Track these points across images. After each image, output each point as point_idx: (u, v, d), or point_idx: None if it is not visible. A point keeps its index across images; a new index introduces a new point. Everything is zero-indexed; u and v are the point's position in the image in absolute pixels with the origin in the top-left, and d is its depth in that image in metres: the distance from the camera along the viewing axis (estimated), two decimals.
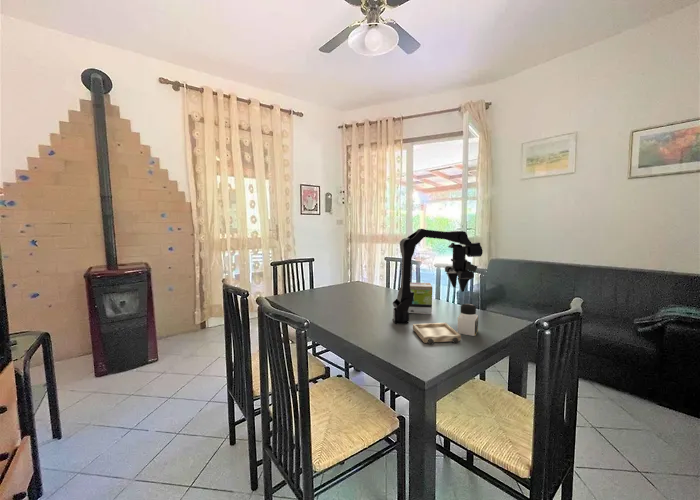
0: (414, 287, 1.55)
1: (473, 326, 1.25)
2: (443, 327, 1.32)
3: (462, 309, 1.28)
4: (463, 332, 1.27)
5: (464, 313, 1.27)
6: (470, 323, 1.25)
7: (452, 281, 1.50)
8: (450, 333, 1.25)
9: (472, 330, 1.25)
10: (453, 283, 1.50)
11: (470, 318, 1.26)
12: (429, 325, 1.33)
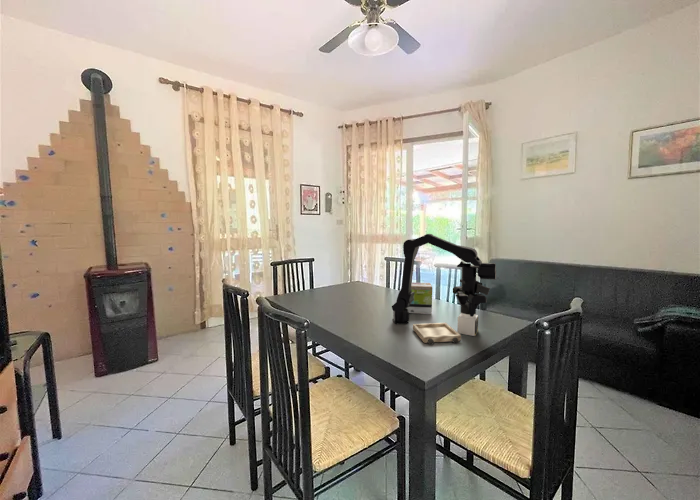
0: (414, 287, 1.55)
1: (473, 326, 1.25)
2: (443, 327, 1.32)
3: (462, 309, 1.28)
4: (463, 332, 1.27)
5: (464, 313, 1.27)
6: (470, 323, 1.25)
7: None
8: (450, 333, 1.25)
9: (472, 330, 1.25)
10: None
11: (470, 318, 1.26)
12: (429, 325, 1.33)
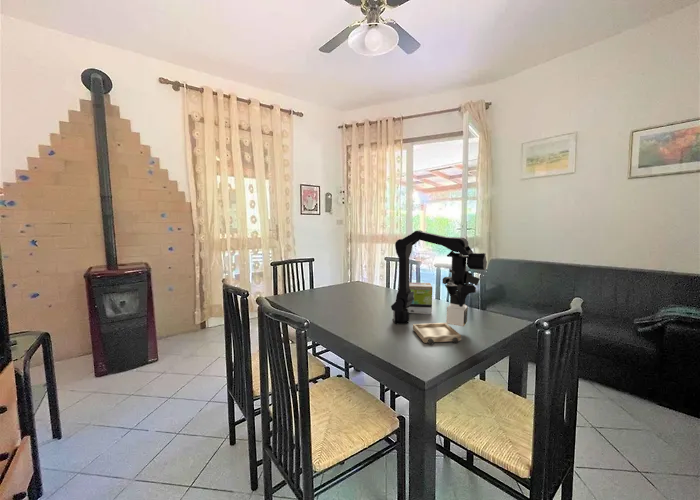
0: (414, 287, 1.55)
1: (462, 316, 1.24)
2: (443, 327, 1.32)
3: (451, 299, 1.26)
4: (452, 322, 1.26)
5: (453, 303, 1.26)
6: (459, 313, 1.24)
7: None
8: (450, 333, 1.25)
9: (461, 320, 1.24)
10: None
11: (459, 308, 1.25)
12: (429, 325, 1.33)
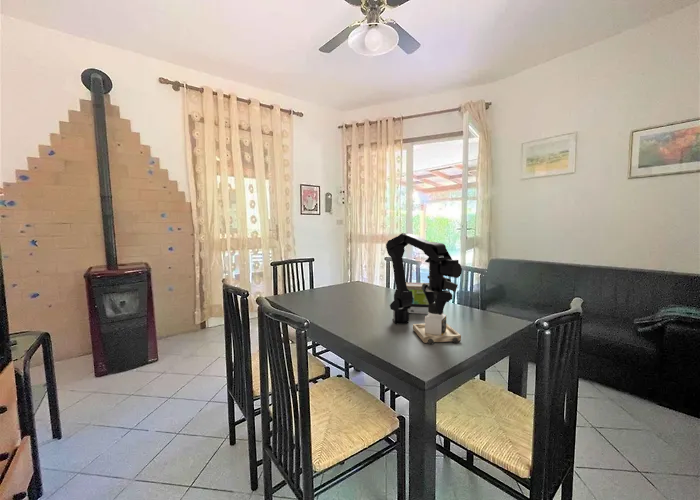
0: (414, 287, 1.55)
1: (440, 326, 1.22)
2: None
3: (429, 308, 1.24)
4: (430, 332, 1.24)
5: (431, 312, 1.24)
6: (436, 323, 1.22)
7: (429, 301, 1.30)
8: (450, 333, 1.25)
9: (438, 330, 1.22)
10: None
11: (437, 318, 1.22)
12: None
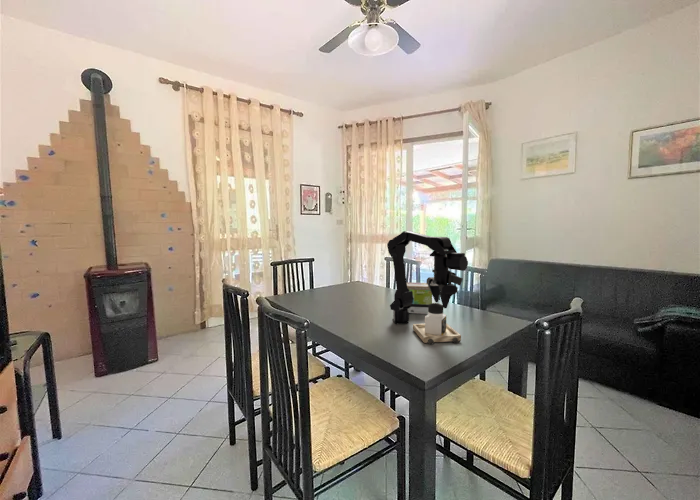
0: (414, 287, 1.55)
1: (440, 326, 1.22)
2: None
3: (429, 308, 1.24)
4: (430, 332, 1.24)
5: (431, 312, 1.24)
6: (436, 323, 1.22)
7: (434, 295, 1.30)
8: (450, 333, 1.25)
9: (438, 330, 1.22)
10: (435, 297, 1.30)
11: (437, 317, 1.22)
12: None
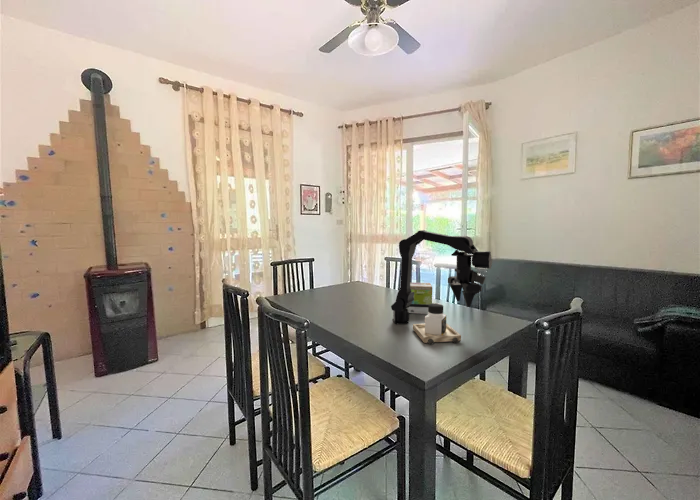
0: (414, 287, 1.55)
1: (440, 326, 1.22)
2: None
3: (429, 308, 1.24)
4: (430, 332, 1.24)
5: (431, 312, 1.24)
6: (436, 323, 1.22)
7: (456, 294, 1.30)
8: (450, 333, 1.25)
9: (438, 330, 1.22)
10: (457, 296, 1.30)
11: (437, 317, 1.22)
12: None
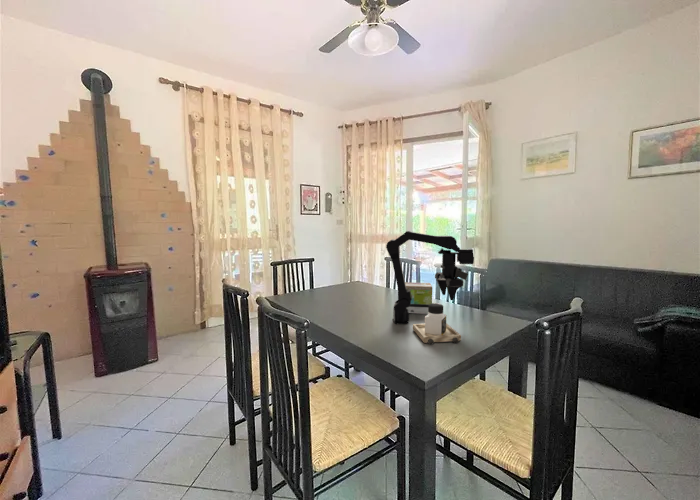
0: (414, 287, 1.55)
1: (440, 326, 1.22)
2: None
3: (429, 308, 1.24)
4: (430, 332, 1.24)
5: (431, 312, 1.24)
6: (436, 323, 1.22)
7: (442, 288, 1.43)
8: (450, 333, 1.25)
9: (438, 330, 1.22)
10: (443, 290, 1.43)
11: (437, 318, 1.22)
12: None
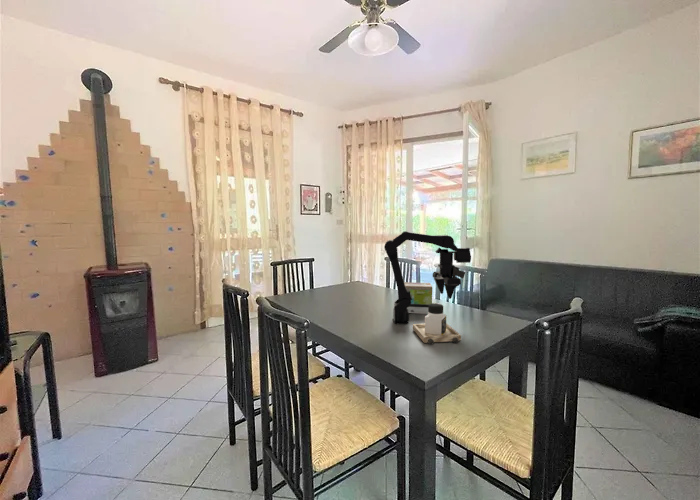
0: (414, 287, 1.55)
1: (440, 326, 1.22)
2: None
3: (429, 308, 1.24)
4: (430, 332, 1.24)
5: (431, 312, 1.24)
6: (436, 323, 1.22)
7: (440, 287, 1.44)
8: (450, 333, 1.25)
9: (438, 330, 1.22)
10: (441, 289, 1.44)
11: (437, 318, 1.22)
12: None
